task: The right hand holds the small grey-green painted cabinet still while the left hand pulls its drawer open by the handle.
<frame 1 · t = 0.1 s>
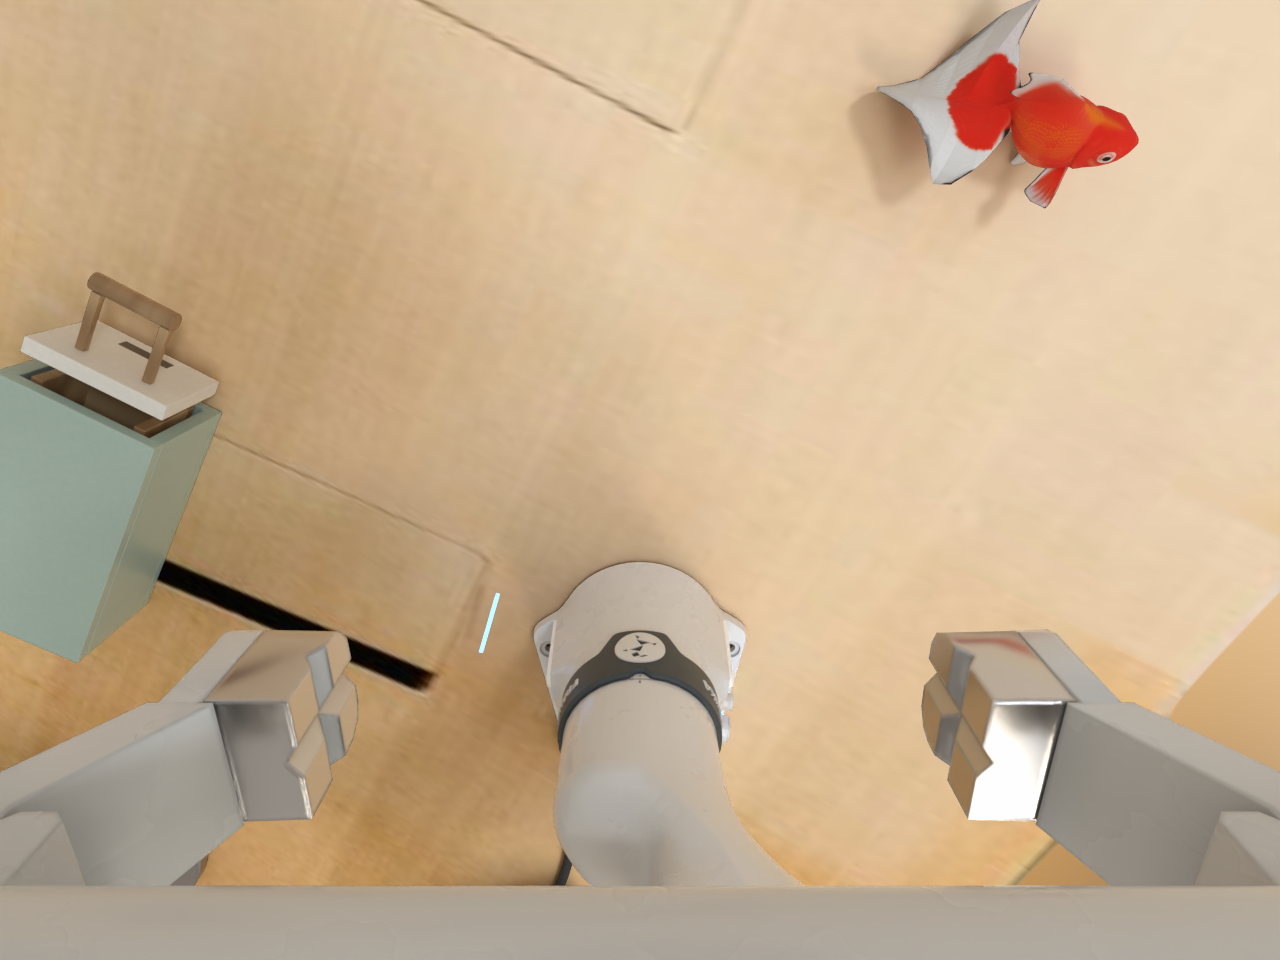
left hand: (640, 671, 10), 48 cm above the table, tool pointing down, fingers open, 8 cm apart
cabinet: (119, 482, 61), on the table
fish: (973, 123, 51), on the table
drawer: (104, 437, 55), point 4 cm above the table, slide at 1.6 cm
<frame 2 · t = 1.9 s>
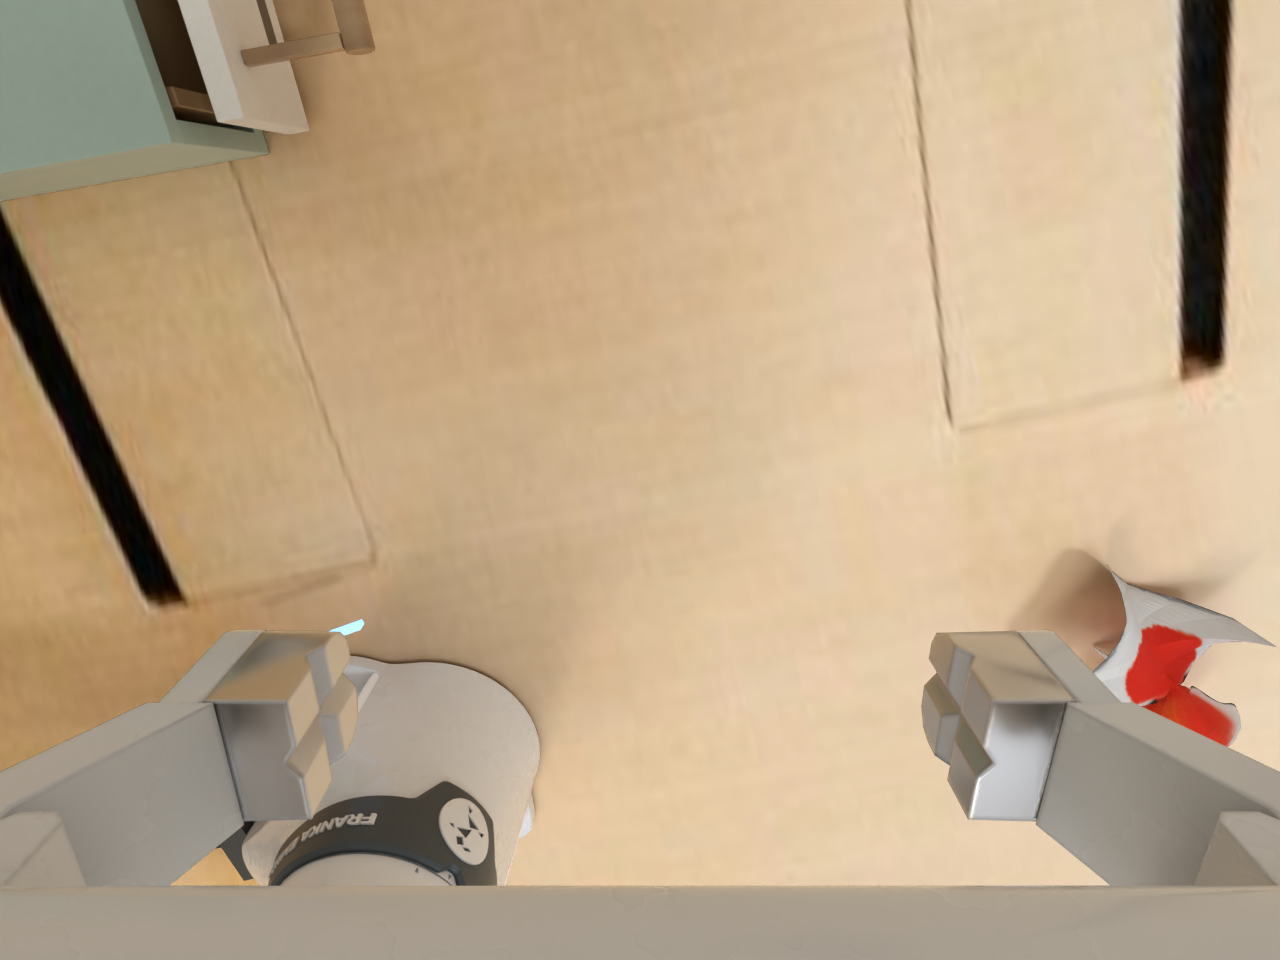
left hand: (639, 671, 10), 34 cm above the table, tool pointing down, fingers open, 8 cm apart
cabinet: (42, 73, 37), on the table
fish: (1115, 646, 50), on the table
drawer: (101, 33, 33), point 4 cm above the table, slide at 1.6 cm
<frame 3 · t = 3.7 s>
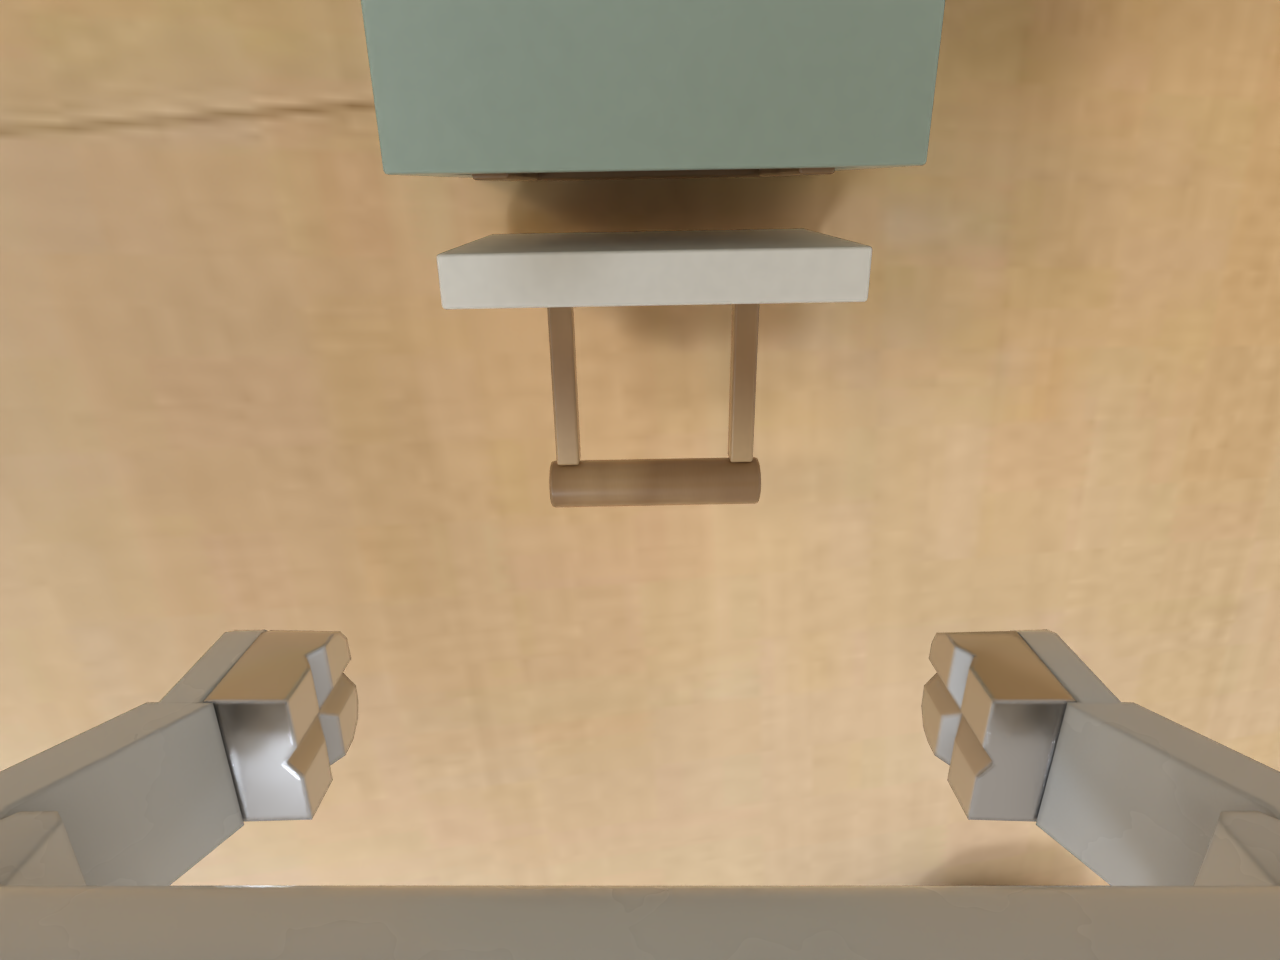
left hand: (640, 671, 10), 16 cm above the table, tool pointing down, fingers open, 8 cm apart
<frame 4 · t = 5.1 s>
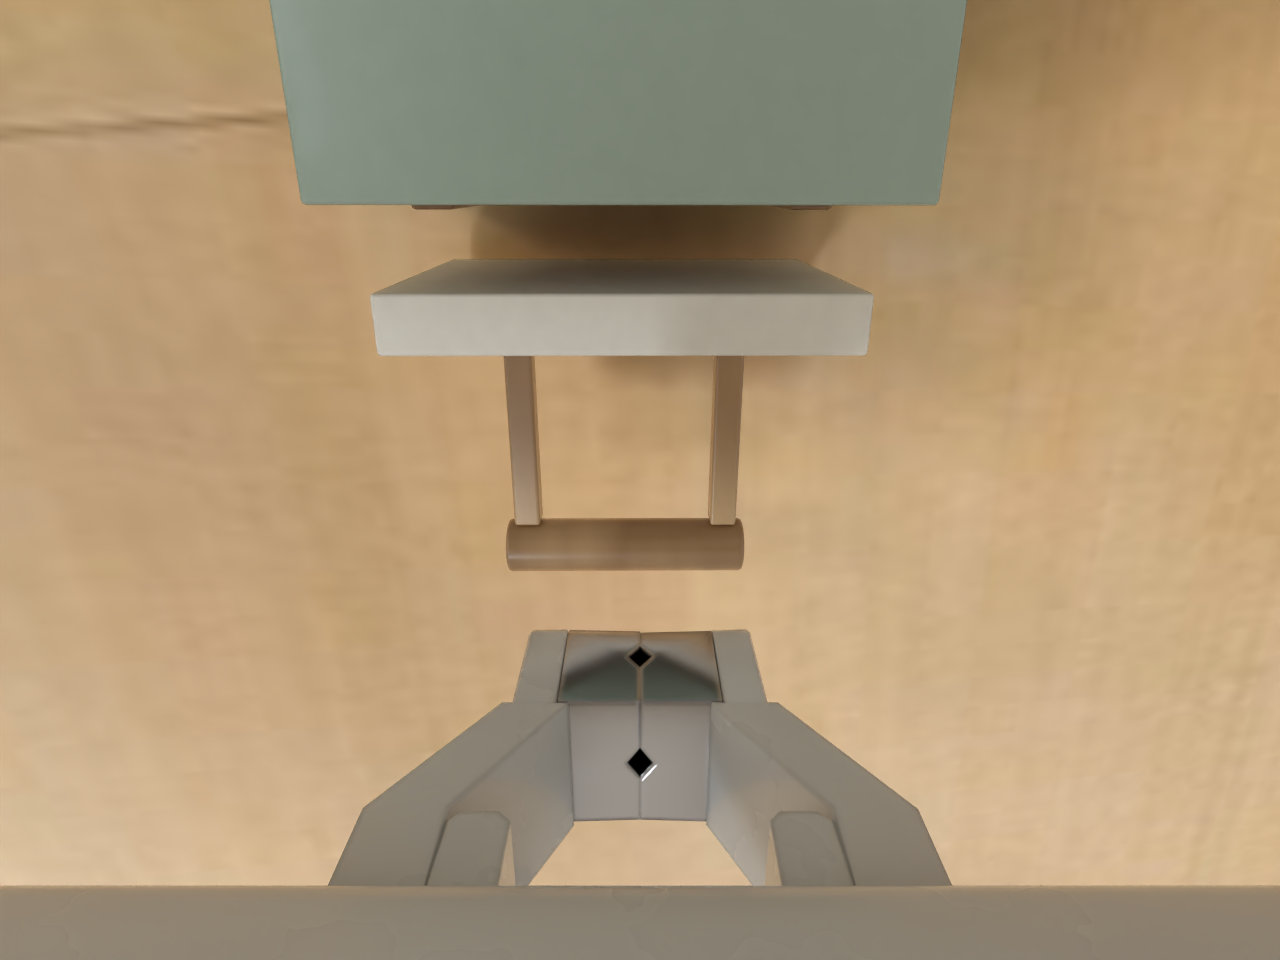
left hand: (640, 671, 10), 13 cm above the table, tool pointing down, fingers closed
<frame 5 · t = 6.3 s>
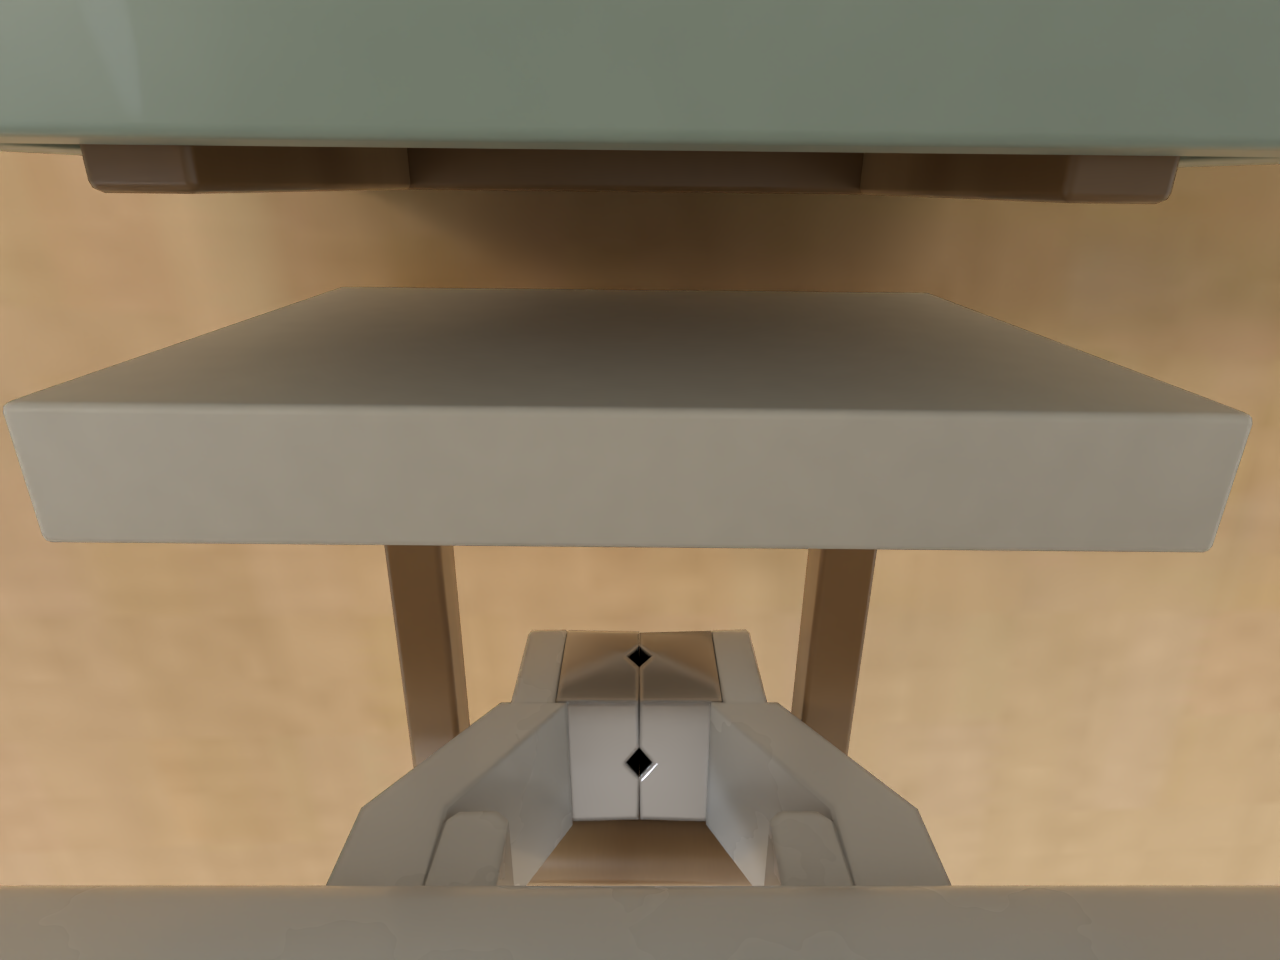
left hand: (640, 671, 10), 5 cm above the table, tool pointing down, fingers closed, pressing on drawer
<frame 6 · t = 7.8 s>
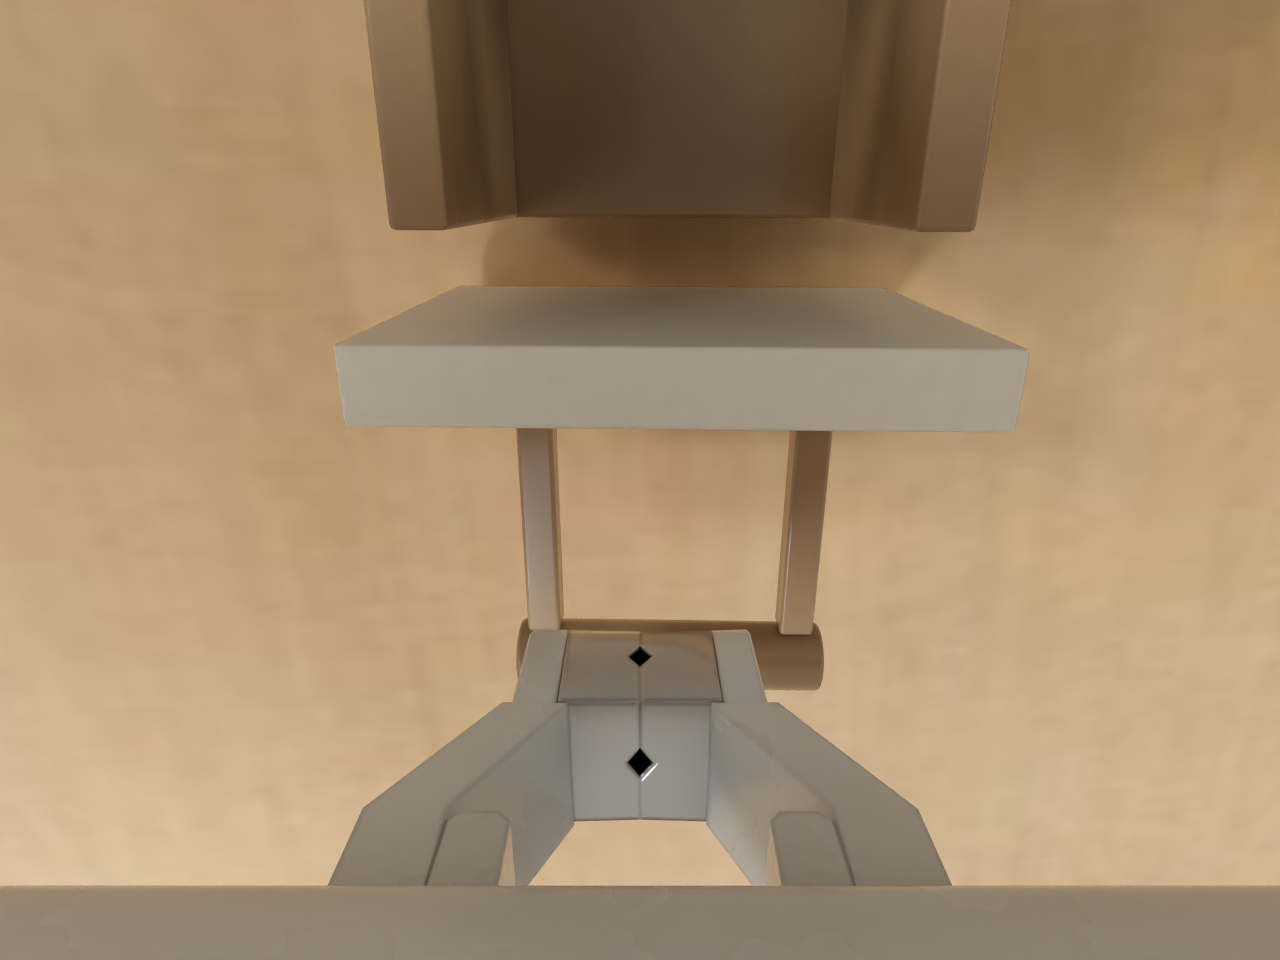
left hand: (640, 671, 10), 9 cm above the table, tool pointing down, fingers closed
when the right hand's fingers open (4 cm above the table, at t = 8.9 s): cabinet stays where it is, on the table.
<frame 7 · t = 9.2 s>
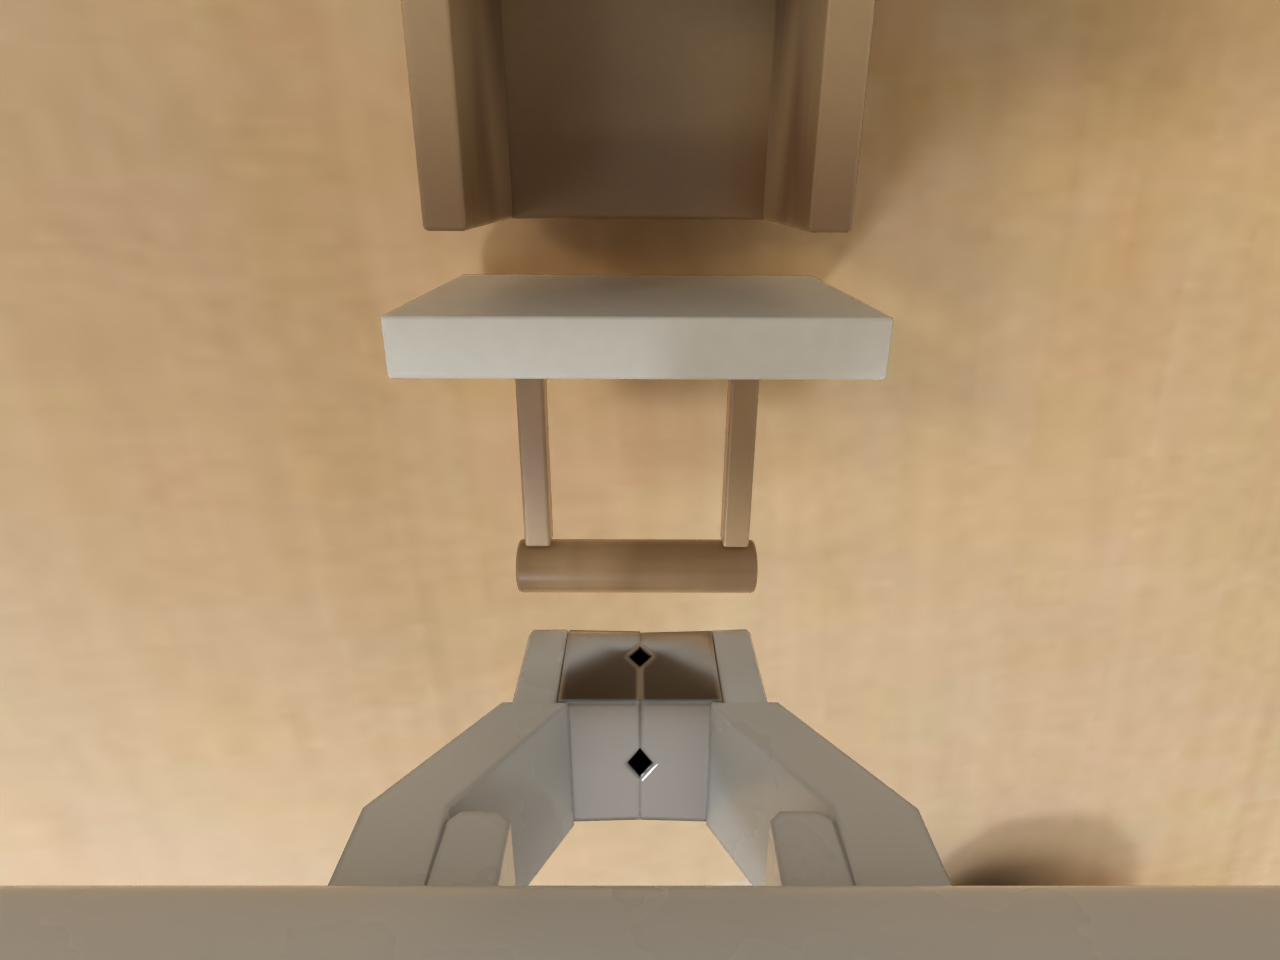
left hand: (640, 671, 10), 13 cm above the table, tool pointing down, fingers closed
drawer: (638, 16, 15), point 4 cm above the table, slide at 7.7 cm
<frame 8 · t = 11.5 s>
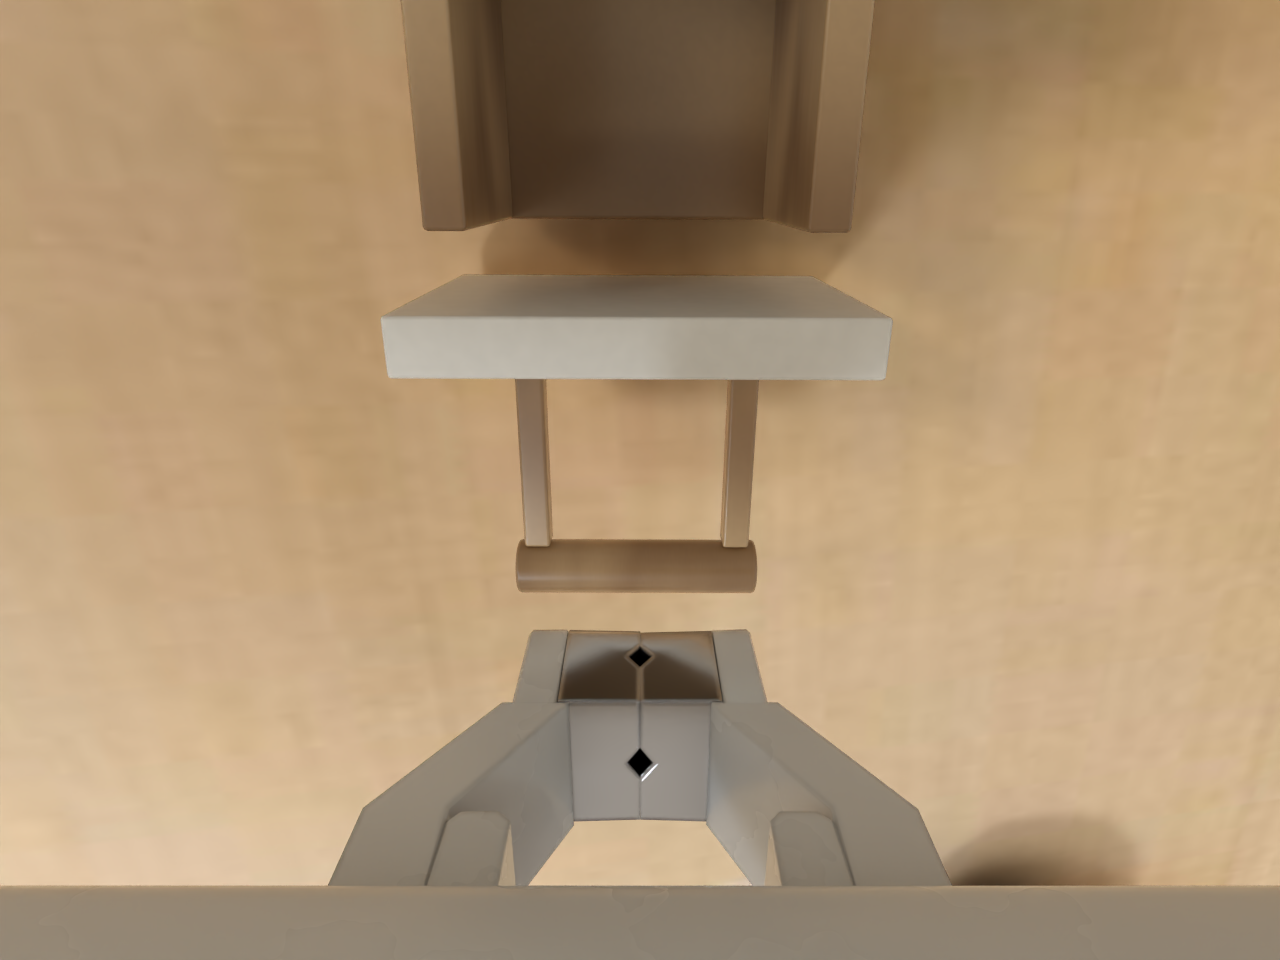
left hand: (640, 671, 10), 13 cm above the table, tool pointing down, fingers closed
drawer: (638, 16, 15), point 4 cm above the table, slide at 7.7 cm
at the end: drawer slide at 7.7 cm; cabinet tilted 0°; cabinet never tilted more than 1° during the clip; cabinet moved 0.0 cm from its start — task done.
